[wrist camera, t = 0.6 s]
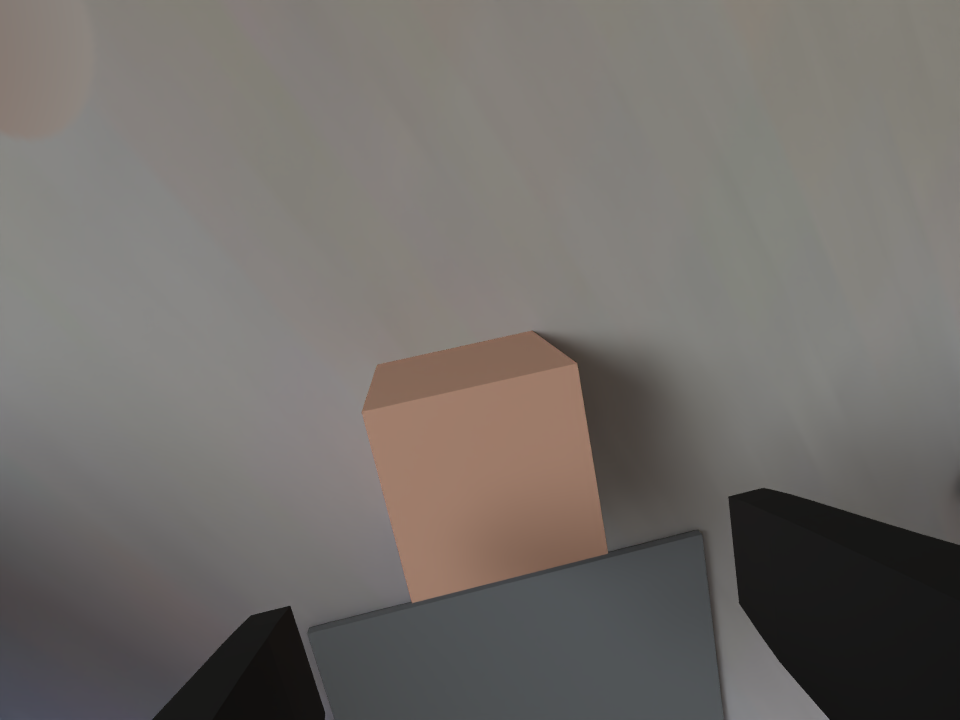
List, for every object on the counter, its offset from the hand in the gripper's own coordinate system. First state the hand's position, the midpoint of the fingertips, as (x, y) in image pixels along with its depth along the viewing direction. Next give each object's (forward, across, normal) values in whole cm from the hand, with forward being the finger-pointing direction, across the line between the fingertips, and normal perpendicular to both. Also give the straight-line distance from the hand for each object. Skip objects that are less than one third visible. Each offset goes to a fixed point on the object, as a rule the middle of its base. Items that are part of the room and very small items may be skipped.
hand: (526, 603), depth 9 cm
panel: (+9, 0, +13) cm, 16 cm away
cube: (+9, 0, 0) cm, 9 cm away
